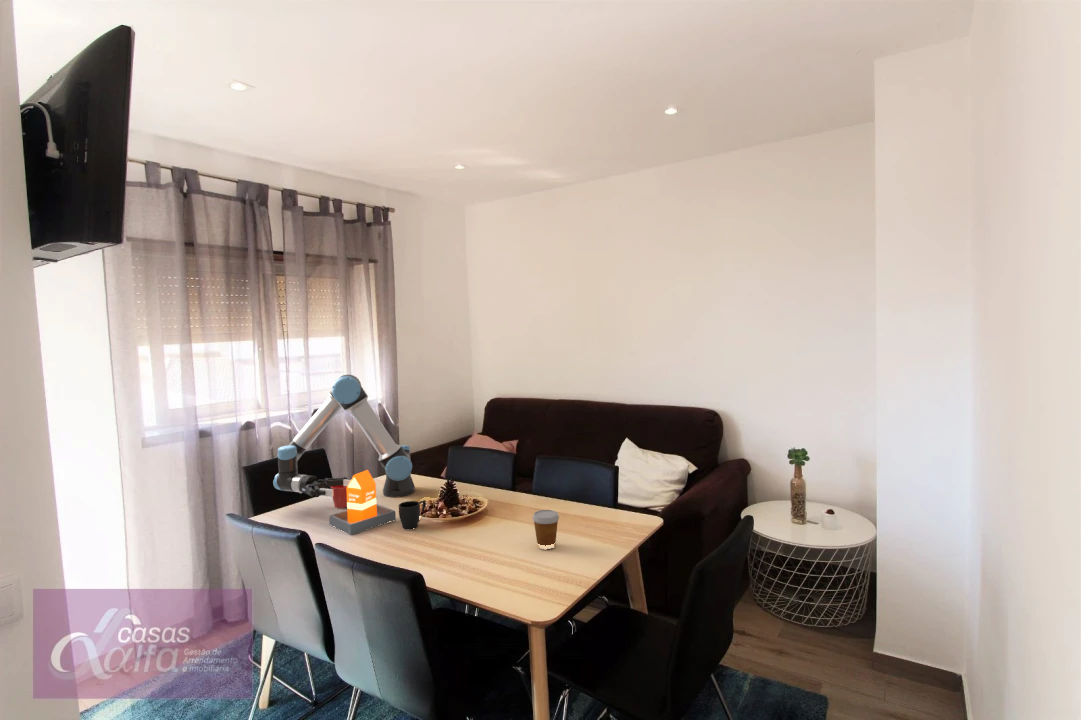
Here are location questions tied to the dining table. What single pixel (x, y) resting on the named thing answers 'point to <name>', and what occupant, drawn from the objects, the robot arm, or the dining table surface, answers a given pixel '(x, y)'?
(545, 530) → the disposable coffee cup
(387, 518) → the tray
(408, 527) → the mug
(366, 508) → the orange juice
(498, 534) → the dining table surface
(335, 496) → the flower pot
